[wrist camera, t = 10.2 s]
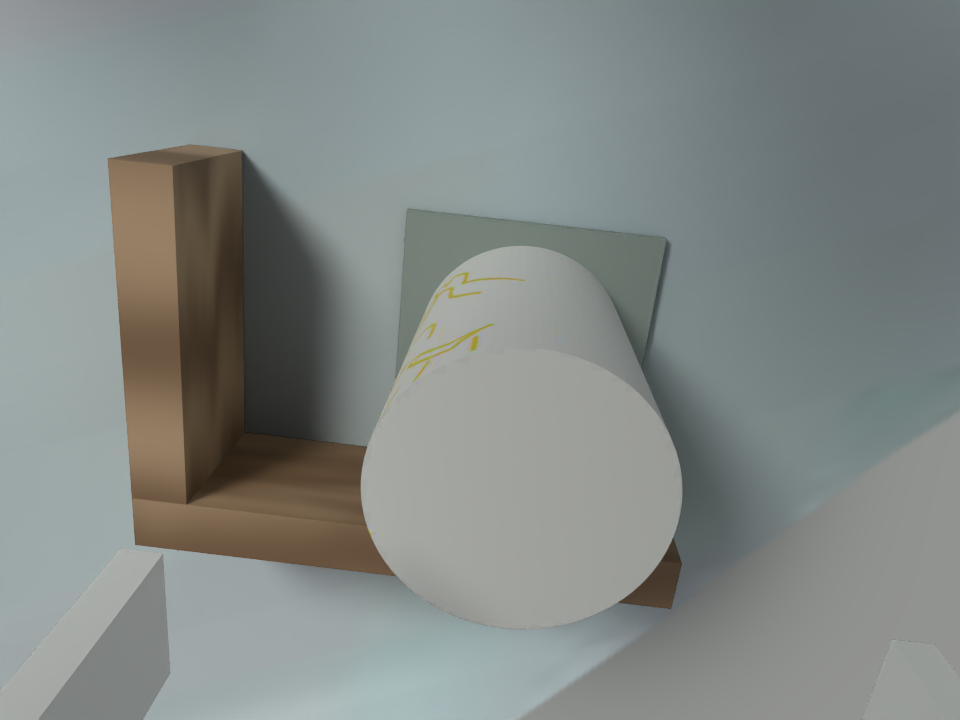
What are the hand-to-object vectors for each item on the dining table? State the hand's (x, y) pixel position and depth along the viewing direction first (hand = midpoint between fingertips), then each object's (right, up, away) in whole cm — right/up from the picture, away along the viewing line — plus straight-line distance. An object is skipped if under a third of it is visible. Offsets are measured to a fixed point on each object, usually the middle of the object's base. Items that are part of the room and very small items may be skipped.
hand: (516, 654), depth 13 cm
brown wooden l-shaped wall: (-2, +6, +17) cm, 18 cm away
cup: (+1, +6, +17) cm, 18 cm away
